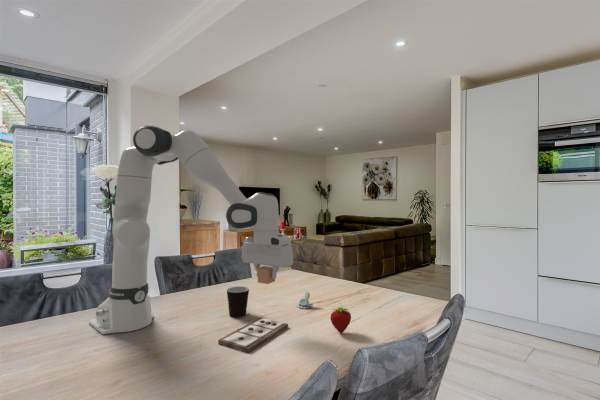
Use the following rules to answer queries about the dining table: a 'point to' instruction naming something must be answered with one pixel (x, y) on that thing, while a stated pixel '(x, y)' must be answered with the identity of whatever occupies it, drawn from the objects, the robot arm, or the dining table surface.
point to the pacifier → (305, 301)
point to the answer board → (253, 334)
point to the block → (265, 275)
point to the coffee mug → (237, 301)
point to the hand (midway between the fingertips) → (266, 277)
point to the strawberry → (340, 319)
